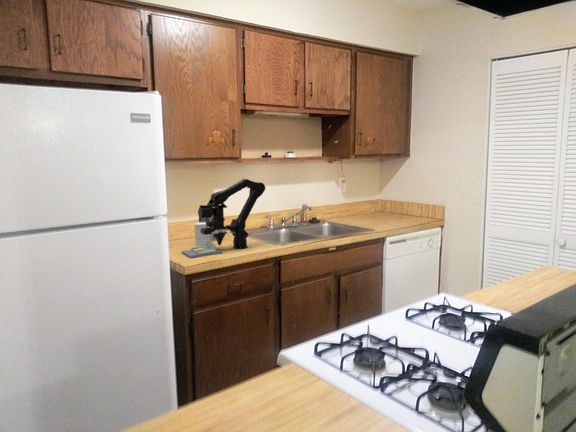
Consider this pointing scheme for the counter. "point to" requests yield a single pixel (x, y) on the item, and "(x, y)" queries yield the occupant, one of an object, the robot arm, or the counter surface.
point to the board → (193, 254)
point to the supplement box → (200, 234)
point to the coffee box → (211, 228)
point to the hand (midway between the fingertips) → (219, 245)
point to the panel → (206, 247)
